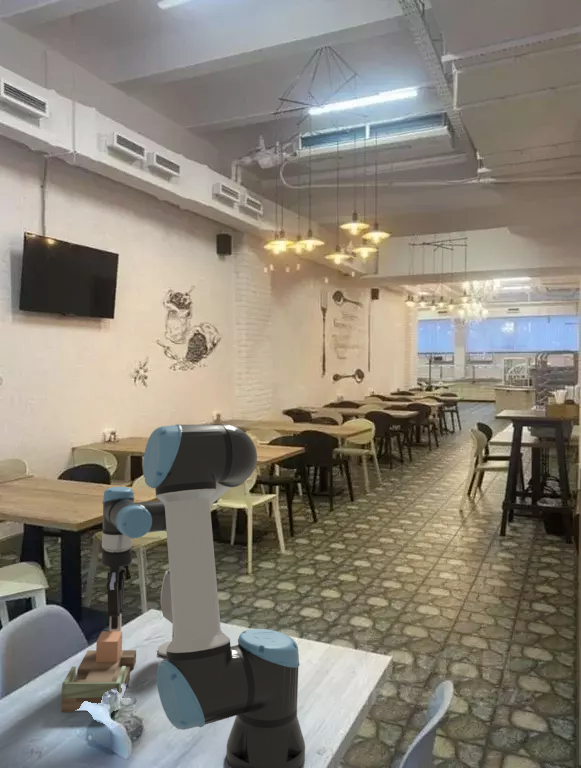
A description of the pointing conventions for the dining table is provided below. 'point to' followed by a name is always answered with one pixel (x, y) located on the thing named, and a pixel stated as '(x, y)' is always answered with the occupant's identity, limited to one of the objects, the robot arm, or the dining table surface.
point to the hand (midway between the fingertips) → (115, 639)
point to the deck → (95, 679)
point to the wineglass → (166, 609)
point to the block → (109, 646)
